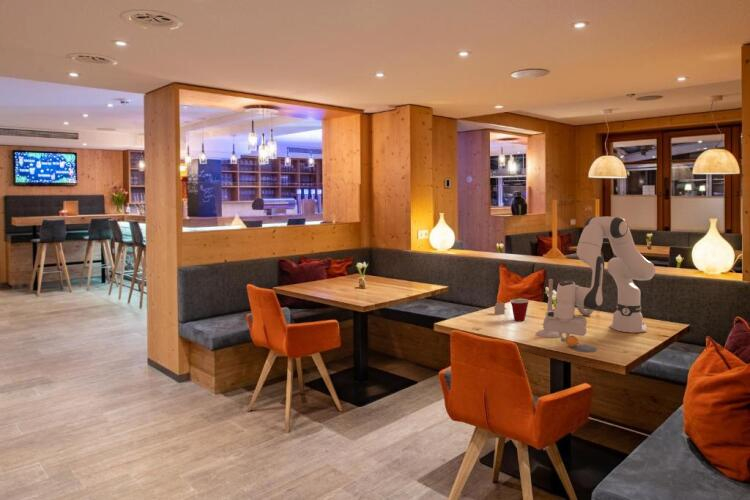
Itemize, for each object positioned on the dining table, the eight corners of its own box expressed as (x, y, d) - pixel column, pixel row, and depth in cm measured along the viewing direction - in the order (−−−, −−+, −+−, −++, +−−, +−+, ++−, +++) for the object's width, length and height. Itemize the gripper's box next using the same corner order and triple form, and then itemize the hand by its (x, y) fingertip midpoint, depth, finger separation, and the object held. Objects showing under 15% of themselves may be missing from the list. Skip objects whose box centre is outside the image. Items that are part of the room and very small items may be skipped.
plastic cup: (513, 317, 332) (514, 297, 331) (531, 319, 326) (531, 299, 325) (506, 320, 324) (507, 300, 322) (524, 323, 317) (525, 302, 316)
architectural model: (493, 313, 344) (494, 301, 343) (505, 313, 344) (505, 301, 343) (495, 315, 340) (495, 303, 340) (506, 314, 341) (506, 303, 340)
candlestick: (531, 332, 297) (533, 277, 294) (551, 330, 302) (553, 275, 298) (546, 339, 285) (548, 281, 282) (567, 336, 290) (569, 279, 286)
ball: (571, 332, 273) (581, 337, 271) (566, 341, 276) (577, 347, 273) (567, 335, 269) (577, 341, 266) (562, 344, 271) (573, 350, 269)
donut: (578, 316, 335) (578, 299, 334) (576, 314, 338) (577, 298, 337) (595, 316, 334) (595, 299, 333) (593, 314, 338) (593, 298, 337)
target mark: (574, 343, 277) (574, 343, 277) (599, 347, 270) (599, 347, 270) (566, 349, 267) (566, 348, 267) (592, 353, 260) (592, 353, 260)
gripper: (588, 315, 268) (587, 343, 270) (547, 310, 281) (545, 336, 282) (584, 318, 263) (583, 346, 265) (542, 312, 276) (541, 339, 277)
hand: (563, 341), depth 274 cm, fingers closed
